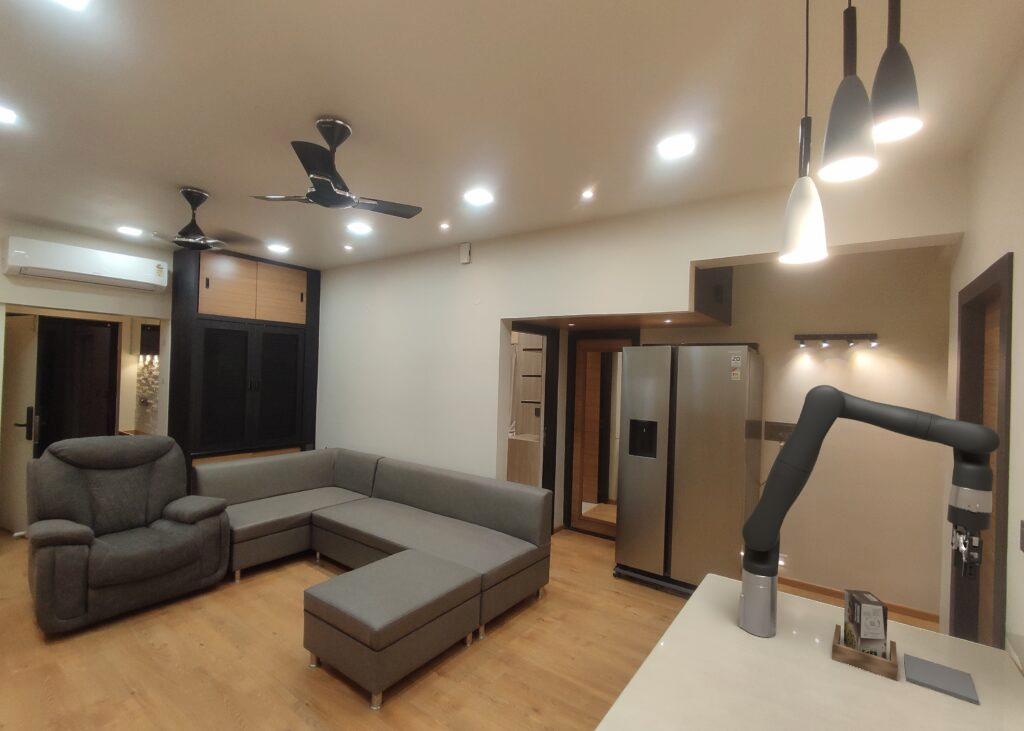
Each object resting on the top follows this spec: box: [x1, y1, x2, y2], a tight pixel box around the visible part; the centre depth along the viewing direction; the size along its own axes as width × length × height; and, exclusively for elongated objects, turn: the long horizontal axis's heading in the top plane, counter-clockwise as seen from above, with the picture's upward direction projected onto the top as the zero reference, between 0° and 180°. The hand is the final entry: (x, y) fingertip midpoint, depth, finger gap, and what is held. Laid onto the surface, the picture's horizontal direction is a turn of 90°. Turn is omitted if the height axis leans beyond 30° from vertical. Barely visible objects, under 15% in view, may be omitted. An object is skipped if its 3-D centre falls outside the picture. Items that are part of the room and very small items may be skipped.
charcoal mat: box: [903, 653, 980, 706], centre depth 118 cm, size 13×13×1 cm
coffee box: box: [843, 588, 889, 659], centre depth 127 cm, size 9×6×16 cm
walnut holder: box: [831, 623, 898, 682], centre depth 126 cm, size 13×13×4 cm
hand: (963, 572), depth 114 cm, fingers open, 8 cm apart
